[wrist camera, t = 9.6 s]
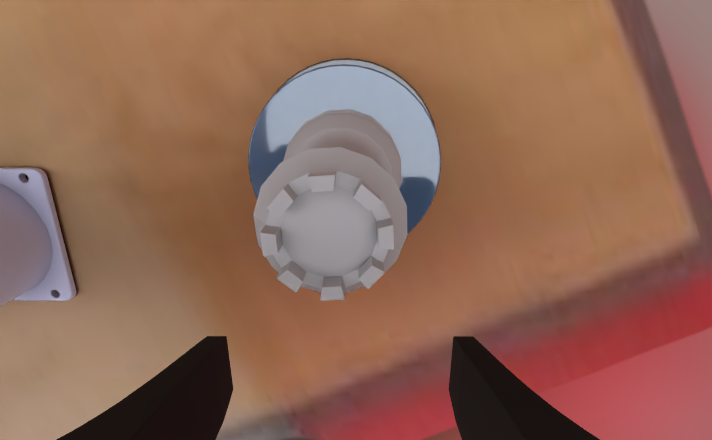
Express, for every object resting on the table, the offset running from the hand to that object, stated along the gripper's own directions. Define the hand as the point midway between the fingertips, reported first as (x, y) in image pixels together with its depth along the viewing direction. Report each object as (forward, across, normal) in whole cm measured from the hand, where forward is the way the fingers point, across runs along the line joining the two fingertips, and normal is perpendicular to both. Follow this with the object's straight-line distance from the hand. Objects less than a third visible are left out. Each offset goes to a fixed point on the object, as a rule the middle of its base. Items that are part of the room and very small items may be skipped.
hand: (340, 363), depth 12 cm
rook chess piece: (+5, 0, -5) cm, 7 cm away
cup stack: (+10, 0, -5) cm, 12 cm away
